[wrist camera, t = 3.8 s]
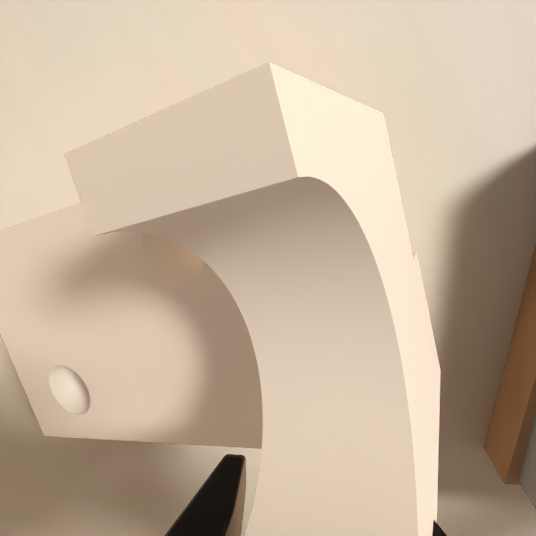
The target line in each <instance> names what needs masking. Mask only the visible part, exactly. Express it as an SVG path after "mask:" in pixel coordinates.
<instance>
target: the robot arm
mask: <svg viewBox="0 0 536 536" xmlns="http://www.w3.org/2000/svg"><path fill="white" fill-rule="evenodd" d="M245 490H246V460H245V457H244V456H243V455H232V454H227V455H225V456H224V458H223V459H222V460H221V461H220V463H219V464H218V465H217V467H216V468H215V469H214V471H213V472H212V473H211V475H210V476H209V477H208V479H207V480H206V481H205V483H204V484H203V485H202V487H201V488H200V489H199V491H198V492H197V493H196V495H195V496H194V497H193V499H192V500H191V501H190V503H189V504H188V505H187V507H186V508H185V509H184V511H183V512H182V513H181V515H180V516H179V517H178V519H177V520H176V521H175V523H174V524H173V525H172V527H171V528H170V529H169V531H168V532H167V533H166V535H165V536H241V528H242V519H243V510H244V501H245ZM432 536H446V534H445V533H444V532H443V531H442V529H441V528H440V527H439V525H438V524H437V523H436V522H435V520H434V521H433V533H432Z"/></svg>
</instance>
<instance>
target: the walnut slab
mask: <svg viewBox="0 0 536 536" xmlns="http://www.w3.org/2000/svg"><path fill="white" fill-rule="evenodd" d="M535 415H536V247H535V251H534V255H533V259H532V263H531V267H530V270H529V274H528V278H527V282H526V286H525V290H524V294H523V298H522V302H521V306H520V310H519V313H518V317H517V321H516V325H515V329H514V333H513V337H512V341H511V345H510V349H509V353H508V356H507V360H506V364H505V368H504V372H503V376H502V380H501V384H500V388H499V392H498V396H497V399H496V403H495V407H494V411H493V415H492V419H491V423H490V427H489V431H488V435H487V438H486V442H485V446H484V448H485V450H486V452H487V454H488V455H489V457H490V459H491V461H492V462H493V464H494V466H495V468H496V469H497V471H498V473H499V475H500V476H501V478H502V480H503V482H504V483H505V484H517V485H521V484H520V482H519V478H520V474H521V470H522V466H523V462H524V458H525V454H526V450H527V446H528V443H529V439H530V435H531V431H532V427H533V423H534V419H535Z"/></svg>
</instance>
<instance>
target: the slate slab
mask: <svg viewBox="0 0 536 536" xmlns="http://www.w3.org/2000/svg"><path fill="white" fill-rule="evenodd" d="M519 482H520V484H521V485H522V487H523V489H524V490H525V492H526V494H527V495H528V497H529V499H530V500H531V502H532V504H533V505H534V507H535V508H536V415H535V419H534V423H533V427H532V431H531V435H530V439H529V443H528V446H527V450H526V454H525V458H524V462H523V466H522V470H521V474H520V478H519Z"/></svg>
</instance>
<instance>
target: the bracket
mask: <svg viewBox="0 0 536 536" xmlns="http://www.w3.org/2000/svg"><path fill="white" fill-rule="evenodd" d="M64 156H65V159H66V162H67V165H68V167H69V170H70V173H71V176H72V179H73V181H74V184H75V187H76V190H77V192H78V195H79V198H80V201H81V203H78V204H75V205H72V206H70V207H67V208H64V209H61V210H58V211H55V212H52V213H50V214H47V215H44V216H41V217H38V218H35V219H33V220H30V221H27V222H24V223H21V224H18V225H15V226H13V227H10V228H7V229H4V230H1V231H0V334H1V337H2V339H3V341H4V344H5V346H6V348H7V351H8V353H9V355H10V358H11V360H12V362H13V365H14V367H15V369H16V372H17V374H18V376H19V379H20V381H21V383H22V386H23V388H24V390H25V393H26V395H27V397H28V400H29V402H30V405H31V407H32V409H33V412H34V414H35V416H36V419H37V421H38V423H39V426H40V428H41V430H42V433H43V435H44V436H53V437H70V438H88V439H105V440H122V441H140V442H157V443H174V444H191V445H209V446H226V447H243V448H261V449H262V451H261V462H260V469H259V477H258V483H257V488H256V494H255V498H254V503H253V507H252V511H251V515H250V519H249V522H248V526H247V530H246V533H245V536H432V533H433V521H434V520H435V522H436V523H437V493H438V453H439V413H440V374H441V370H440V365H439V360H438V355H437V350H436V345H435V341H434V336H433V331H432V326H431V321H430V316H429V311H428V306H427V301H426V296H425V291H424V287H423V282H422V277H421V272H420V267H419V262H418V257H417V252H416V251H413V252H412V250H411V245H410V240H409V235H408V231H407V226H406V221H405V216H404V211H403V206H402V201H401V197H400V192H399V187H398V182H397V177H396V172H395V167H394V163H393V158H392V153H391V148H390V143H389V138H388V134H387V129H386V124H385V119H384V114H383V113H382V112H379V111H377V110H375V109H373V108H370V107H368V106H366V105H364V104H361V103H359V102H357V101H355V100H352V99H350V98H348V97H346V96H344V95H341V94H339V93H337V92H335V91H332V90H330V89H328V88H326V87H323V86H321V85H319V84H317V83H314V82H312V81H310V80H308V79H306V78H303V77H301V76H299V75H297V74H294V73H292V72H290V71H288V70H285V69H283V68H281V67H279V66H276V65H274V64H272V63H270V62H269V63H266V64H264V65H262V66H260V67H257V68H255V69H253V70H251V71H248V72H246V73H244V74H242V75H240V76H237V77H235V78H233V79H231V80H228V81H226V82H224V83H222V84H219V85H217V86H215V87H213V88H211V89H208V90H206V91H204V92H202V93H199V94H197V95H195V96H193V97H190V98H188V99H186V100H184V101H182V102H179V103H177V104H175V105H173V106H170V107H168V108H166V109H164V110H161V111H159V112H157V113H155V114H153V115H150V116H148V117H146V118H144V119H141V120H139V121H137V122H135V123H133V124H130V125H128V126H126V127H124V128H121V129H119V130H117V131H115V132H112V133H110V134H108V135H106V136H104V137H101V138H99V139H97V140H95V141H92V142H90V143H88V144H86V145H83V146H81V147H79V148H77V149H75V150H72V151H70V152H68V153H66V154H64Z"/></svg>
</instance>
